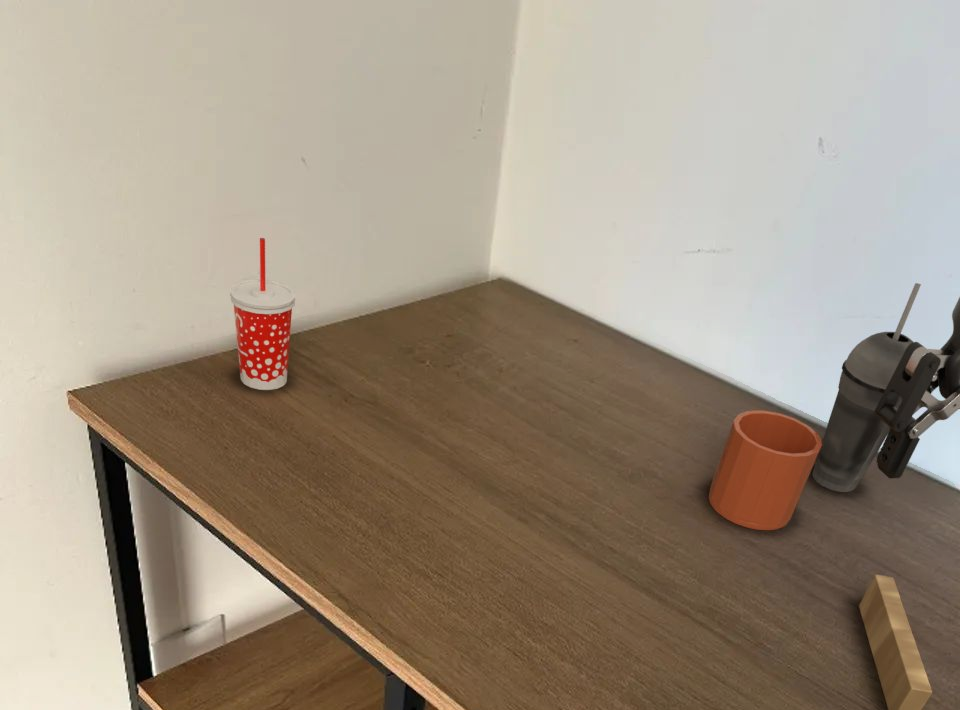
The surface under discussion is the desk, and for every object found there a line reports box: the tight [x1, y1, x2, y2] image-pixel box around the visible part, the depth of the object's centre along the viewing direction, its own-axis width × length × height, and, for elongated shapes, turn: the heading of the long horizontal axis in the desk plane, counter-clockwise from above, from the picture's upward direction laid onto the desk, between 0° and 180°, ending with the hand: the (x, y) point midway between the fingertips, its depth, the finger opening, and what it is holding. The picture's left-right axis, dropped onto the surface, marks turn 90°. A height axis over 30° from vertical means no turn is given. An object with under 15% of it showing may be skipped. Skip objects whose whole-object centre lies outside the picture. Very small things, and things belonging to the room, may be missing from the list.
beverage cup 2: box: [811, 282, 922, 493], centre depth 92 cm, size 7×7×20 cm
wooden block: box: [858, 573, 933, 710], centre depth 76 cm, size 2×4×14 cm
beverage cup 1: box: [229, 237, 296, 391], centre depth 93 cm, size 6×6×14 cm
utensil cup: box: [708, 410, 822, 531], centre depth 90 cm, size 8×8×8 cm
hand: (930, 470), depth 77 cm, fingers open, 8 cm apart
